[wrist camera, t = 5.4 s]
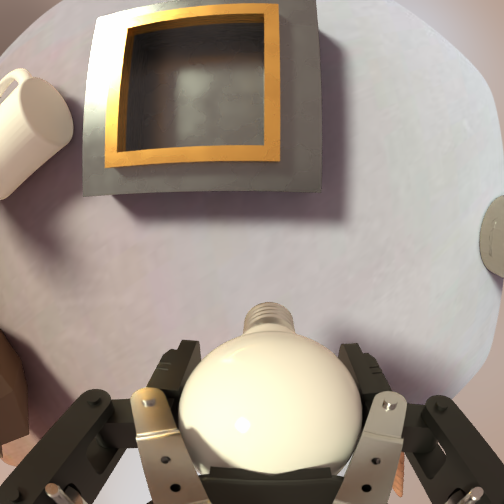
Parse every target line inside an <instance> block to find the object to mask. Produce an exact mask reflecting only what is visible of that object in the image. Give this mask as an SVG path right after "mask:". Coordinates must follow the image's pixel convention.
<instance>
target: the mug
mask: <svg viewBox="0 0 504 504" xmlns="http://www.w3.org/2000/svg"><path fill="white" fill-rule="evenodd" d="M14 80H16V81H17V82H18V83H19V86H18V87H17V88H16V89H15V90H14V91H13V92H12V93H11V94H10V95H9V96H8V97H7V98H6V99H5V100H4V101H3V103H2V104H1V105H0V200H3V199H5V198H7V197H8V196H9V195H11V194H12V193H13V192H14V191H15V190H16V189H17V188H18V187H19V186H20V185H21V184H22V183H23V182H24V181H25V180H26V179H27V178H28V177H29V176H30V175H31V174H32V173H34V172H35V171H36V170H37V169H38V168H39V167H40V166H41V165H43V164H44V163H45V162H46V161H47V160H48V159H50V158H51V157H52V156H53V155H54V154H56V153H57V152H58V151H59V150H60V149H62V148H63V147H64V146H65V145H67V144H68V143H69V142H70V140H71V138H72V135H73V120H72V116H71V113H70V110H69V108H68V106H67V104H66V102H65V100H64V99H63V97H62V96H61V95H60V93H59V92H58V91H57V90H56V89H55V88H54V87H53V86H52V85H51V84H50V83H48V82H47V81H45V80H43V79H41V78H37V77H32V75H31V74H30V72H29V71H27V70H26V69H22V68H20V69H16V70H13V71H12V72H10V73H8V74H7V75H6V76H5V77H4V78H3V79H2V80H1V81H0V98H1V96H2V94H3V93H4V92H5V90H6V89H7V88H8V86H9V85H10V84H11V83H12V82H13V81H14Z"/></svg>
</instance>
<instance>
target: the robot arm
mask: <svg viewBox="0 0 504 504" xmlns="http://www.w3.org/2000/svg"><path fill="white" fill-rule="evenodd" d="M480 253H481V258H482V260H483V263H484V265H485V266H486V268H487V269H488V270H490V271H491V272H492V273H494V274H496V275H498V276H500V277H502V278H504V195H502V196H500V197H498V198H496V199H495V200H494V201H493V202H492V203H491V205H490V206H489V208H488V209H487V212H486V214H485V216H484V219H483V222H482V226H481V231H480ZM338 358H339V359H340V360H341V361H342V362H343V363H344V365H345V366H346V367H347V369H348V370H349V372H350V373H351V375H352V377H353V378H354V380H355V383H356V385H357V387H358V390H359V393H360V398H361V403H362V428H361V433H360V438H359V440H358V443H357V446H356V448H355V451H354V453H353V456H352V458H351V460H350V463H349V465H348V468H347V470H346V472H345V474H344V477H342V476H337V475H331V469H330V467H326V468H313V469H300V470H296V471H291V472H287V473H282V474H278V475H265V474H260V473H256V472H251V471H247V470H243V469H236V468H223V467H212V466H211V467H210V472H209V474H203V475H197V472H196V470H195V468H194V465H193V463H192V461H191V458H190V456H189V454H188V451H187V449H186V446H185V444H184V441H183V439H182V436H181V433H180V431H179V429H178V407H179V401H180V397H181V394H182V391H183V388H184V386H185V383H186V381H187V380H188V378H189V376H190V374H191V373H192V371H193V370H194V369H195V367H196V366H197V365H198V364H199V363H200V361H201V354H200V344H199V341H193V340H182V341H181V343H180V345H179V347H178V349H177V350H174V349H170V350H169V351H168V352H166V353H165V354H164V355H163V356H162V358H161V360H160V362H159V364H158V365H157V367H156V369H155V371H154V373H153V375H152V377H151V379H150V381H149V383H148V384H147V386H146V388H142V389H139V390H137V391H136V392H134V393H133V395H132V396H131V398H130V399H118V400H111V397H110V395H109V394H108V393H107V392H106V391H104V390H100V389H92V390H88V391H86V392H84V393H83V394H82V395H81V396H80V397H79V398H78V399H77V400H76V401H75V402H74V403H73V404H72V405H71V406H70V407H69V409H68V410H67V411H66V412H65V413H64V414H63V415H62V416H61V417H60V418H59V420H58V421H57V422H56V423H55V424H54V425H53V426H52V427H51V428H50V430H49V431H48V432H47V433H46V434H45V435H44V436H43V437H42V439H41V440H40V441H39V442H38V443H37V444H36V445H35V446H34V448H33V449H32V450H31V451H30V452H29V453H28V454H27V456H26V457H25V458H24V459H23V460H22V461H21V462H20V464H19V465H18V466H17V467H16V468H15V469H14V471H13V472H12V473H11V474H10V475H9V477H8V478H7V479H6V480H5V481H4V482H3V484H2V485H1V486H0V504H92V503H93V502H94V500H95V499H96V497H97V495H98V494H99V492H100V490H101V489H102V487H103V486H104V484H105V483H106V481H107V479H108V478H109V476H110V474H111V473H112V471H113V470H114V468H115V466H116V465H117V463H118V462H119V460H120V458H121V457H122V455H123V454H124V452H125V450H126V449H127V448H138V450H139V453H140V458H141V462H142V466H143V470H144V473H145V477H146V481H147V484H148V488H149V491H150V494H151V498H152V501H150V502H149V503H147V504H387V502H388V499H389V496H390V493H391V489H392V486H393V482H394V479H395V475H396V471H397V467H398V463H399V459H400V455H401V452H405V454H406V456H407V458H408V460H409V462H410V464H411V465H412V467H413V469H414V471H415V473H416V475H417V476H418V478H419V480H420V482H421V484H422V486H423V487H424V489H425V491H426V493H427V495H428V497H429V499H430V501H431V502H432V504H504V464H503V463H502V461H501V460H500V459H499V458H498V456H497V455H496V454H495V452H494V451H493V450H492V448H491V447H490V446H489V445H488V443H487V442H486V441H485V440H484V438H483V437H482V436H481V435H480V433H479V432H478V431H477V430H476V428H475V427H474V426H473V425H472V423H471V422H470V421H469V420H468V418H467V417H466V416H465V415H464V414H463V412H462V411H461V410H460V409H459V408H458V406H457V405H456V404H455V403H454V402H453V401H452V400H451V399H450V398H448V397H446V396H442V395H435V396H432V397H430V398H429V399H428V400H427V401H426V404H425V405H419V404H409V403H407V401H406V399H405V398H404V397H403V396H402V395H400V394H398V393H396V392H392V390H391V388H390V386H389V384H388V382H387V380H386V378H385V376H384V374H383V373H382V370H381V368H379V365H378V363H377V361H376V359H375V358H374V357H372V356H371V355H370V354H369V353H362V351H361V349H360V347H359V345H358V344H357V343H353V344H341V346H340V350H339V355H338ZM438 442H439V443H440V445H441V446H442V448H443V449H444V451H445V453H446V455H445V454H444V452H443V451H442V449H441V448H440V446H439V445H438Z"/></svg>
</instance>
